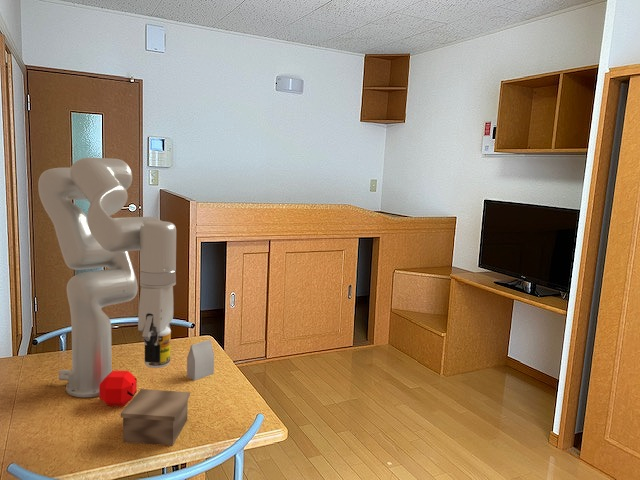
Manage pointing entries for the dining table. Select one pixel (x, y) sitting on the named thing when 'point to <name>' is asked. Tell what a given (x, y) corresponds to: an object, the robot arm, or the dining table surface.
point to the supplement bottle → (162, 348)
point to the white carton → (200, 360)
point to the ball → (118, 388)
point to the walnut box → (155, 417)
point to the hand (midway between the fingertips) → (157, 355)
